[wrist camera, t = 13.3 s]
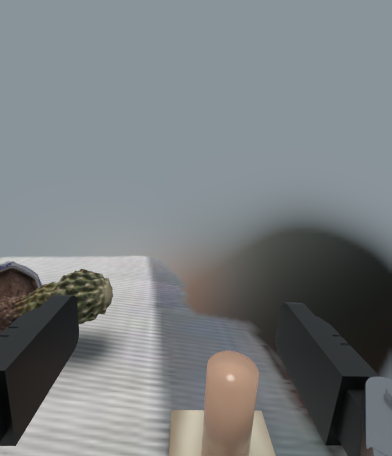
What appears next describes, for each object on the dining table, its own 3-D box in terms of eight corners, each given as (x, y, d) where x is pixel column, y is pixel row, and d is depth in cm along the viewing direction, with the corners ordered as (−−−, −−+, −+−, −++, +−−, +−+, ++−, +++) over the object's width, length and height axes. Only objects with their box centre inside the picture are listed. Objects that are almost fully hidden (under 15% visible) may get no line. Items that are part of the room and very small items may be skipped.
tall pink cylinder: (202, 493, 24) (209, 390, 21) (199, 439, 28) (205, 350, 26) (252, 493, 24) (265, 391, 21) (241, 439, 29) (251, 351, 26)
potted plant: (-155, 306, 31) (72, 259, 32) (-33, 264, 49) (112, 234, 50) (-101, 418, 34) (106, 374, 35) (-4, 340, 52) (132, 311, 53)
